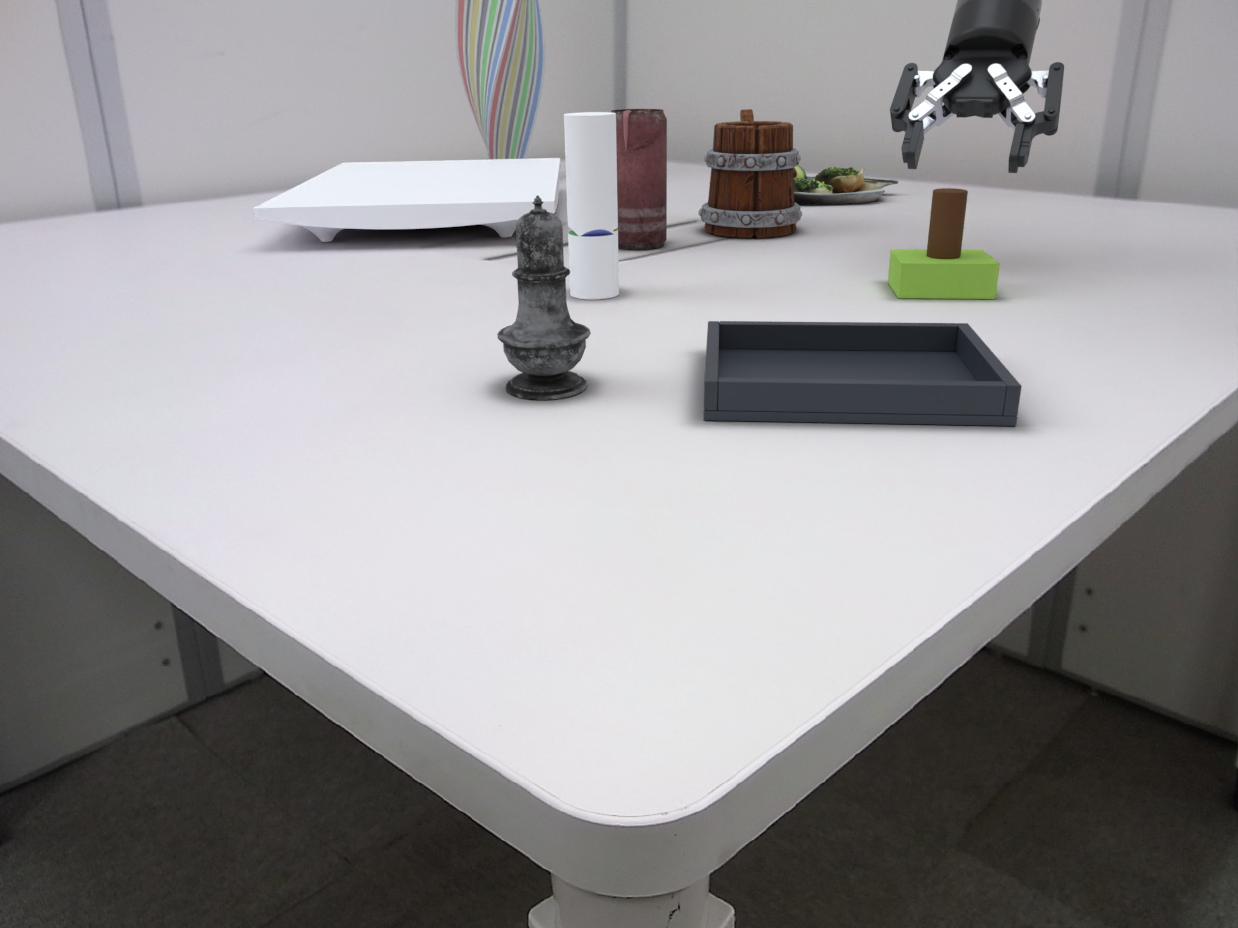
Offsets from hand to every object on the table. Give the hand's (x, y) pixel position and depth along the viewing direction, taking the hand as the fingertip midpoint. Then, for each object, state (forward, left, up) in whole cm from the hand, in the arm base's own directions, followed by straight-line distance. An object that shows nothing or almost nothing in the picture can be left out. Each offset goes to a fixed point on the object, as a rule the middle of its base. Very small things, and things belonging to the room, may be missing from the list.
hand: (961, 165), depth 88 cm
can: (+30, -16, -10) cm, 35 cm away
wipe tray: (+13, +32, -10) cm, 36 cm away
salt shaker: (+32, +33, -10) cm, 47 cm away
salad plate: (+8, -53, -10) cm, 55 cm away
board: (+58, -36, -10) cm, 69 cm away
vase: (+56, -74, -10) cm, 93 cm away
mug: (+18, -27, -10) cm, 34 cm away
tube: (+32, +7, -10) cm, 34 cm away
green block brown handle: (+2, +5, -10) cm, 11 cm away
